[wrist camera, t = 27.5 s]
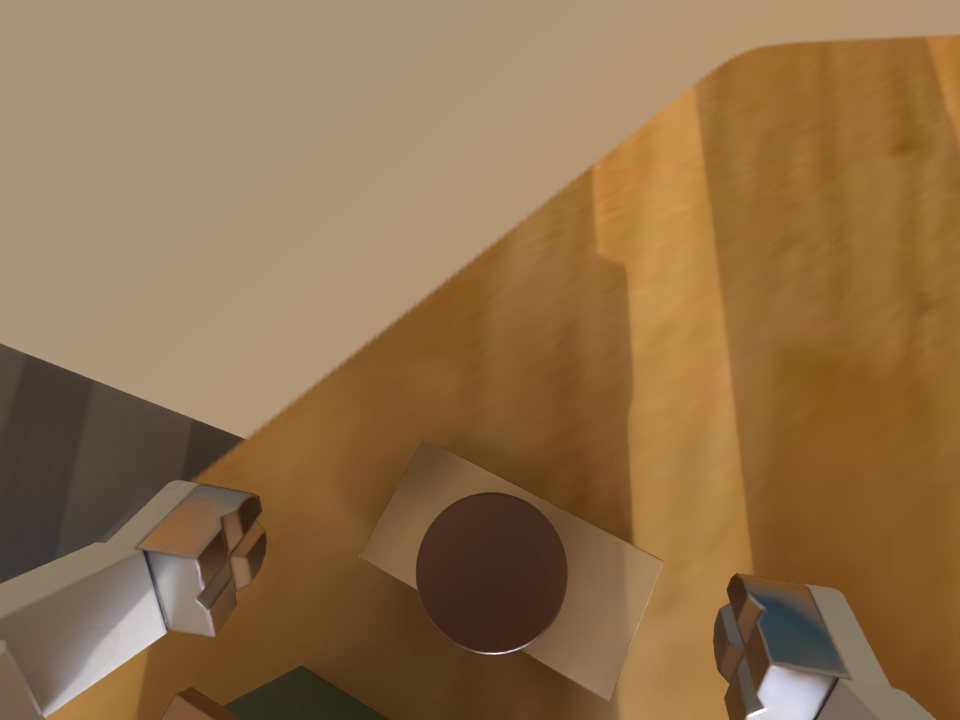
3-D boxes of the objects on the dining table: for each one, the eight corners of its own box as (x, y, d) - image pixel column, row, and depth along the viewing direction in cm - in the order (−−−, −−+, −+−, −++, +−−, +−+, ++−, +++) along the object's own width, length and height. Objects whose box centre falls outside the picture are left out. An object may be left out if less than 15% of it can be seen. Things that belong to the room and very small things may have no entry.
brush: (379, 555, 24) (197, 565, 11) (435, 451, 25) (334, 343, 12) (597, 680, 22) (709, 887, 8) (646, 559, 23) (810, 575, 10)
